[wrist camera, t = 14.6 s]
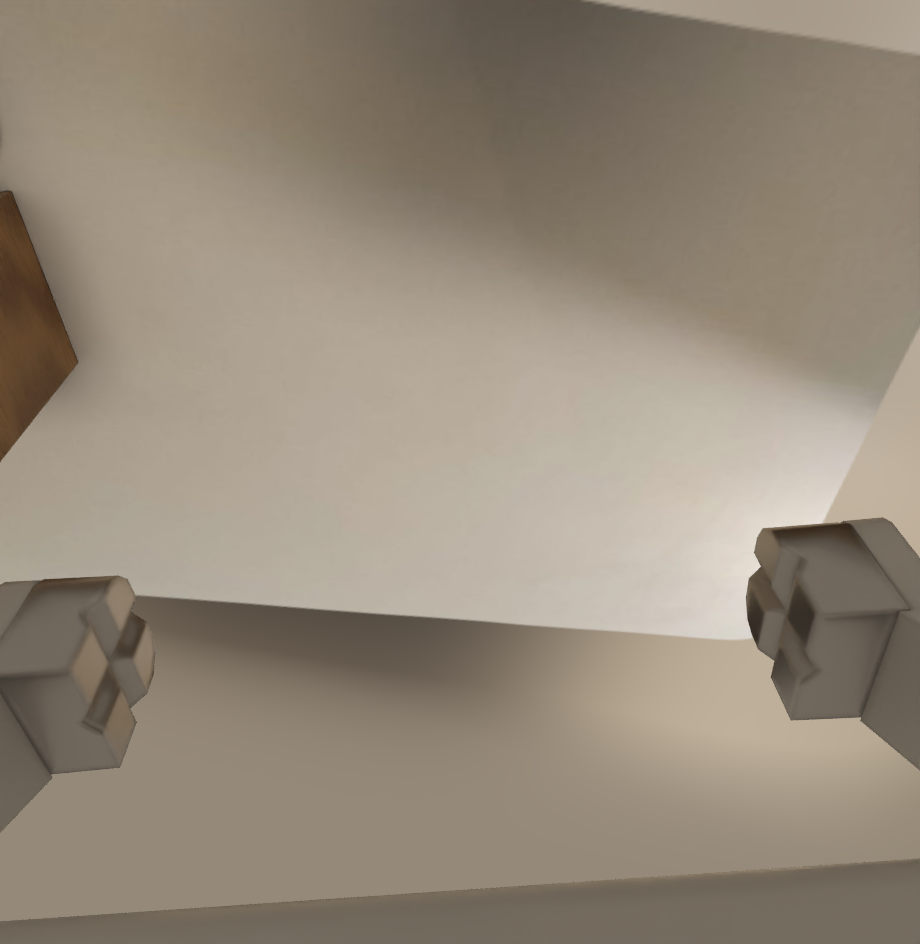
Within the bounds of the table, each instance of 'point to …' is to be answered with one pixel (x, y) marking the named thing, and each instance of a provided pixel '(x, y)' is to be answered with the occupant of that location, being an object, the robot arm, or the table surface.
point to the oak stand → (26, 331)
